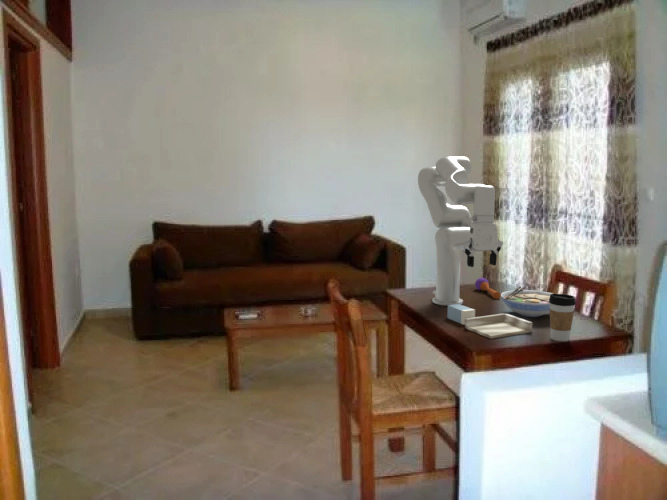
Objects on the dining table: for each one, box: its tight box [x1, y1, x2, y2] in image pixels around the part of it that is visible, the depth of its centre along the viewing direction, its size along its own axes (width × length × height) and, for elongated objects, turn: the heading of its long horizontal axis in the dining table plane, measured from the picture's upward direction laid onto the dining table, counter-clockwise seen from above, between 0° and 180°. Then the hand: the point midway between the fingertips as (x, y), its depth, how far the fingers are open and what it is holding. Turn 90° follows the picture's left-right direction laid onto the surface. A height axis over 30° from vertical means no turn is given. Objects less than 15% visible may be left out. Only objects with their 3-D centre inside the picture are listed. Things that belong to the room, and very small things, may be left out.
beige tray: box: [464, 312, 533, 340], centre depth 218 cm, size 14×18×4 cm
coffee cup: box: [549, 293, 577, 342], centre depth 207 cm, size 8×8×15 cm
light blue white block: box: [446, 304, 476, 326], centre depth 231 cm, size 10×5×5 cm, turn 26°
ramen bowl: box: [500, 285, 554, 318], centre depth 238 cm, size 25×23×8 cm
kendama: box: [474, 277, 501, 300], centre depth 275 cm, size 6×6×20 cm
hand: (481, 265), depth 229 cm, fingers open, 9 cm apart
